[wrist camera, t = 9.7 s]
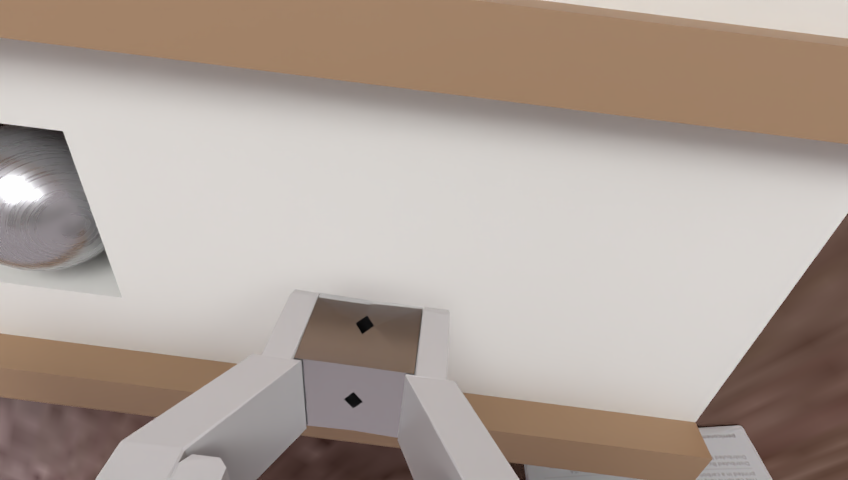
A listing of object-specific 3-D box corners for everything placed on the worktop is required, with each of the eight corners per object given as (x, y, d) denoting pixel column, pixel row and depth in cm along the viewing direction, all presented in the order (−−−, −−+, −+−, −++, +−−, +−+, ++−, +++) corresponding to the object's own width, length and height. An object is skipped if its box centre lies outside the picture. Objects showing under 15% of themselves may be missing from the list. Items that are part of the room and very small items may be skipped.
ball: (131, 131, 12) (69, 92, 14) (-78, 184, 9) (-119, 126, 11) (171, 254, 14) (113, 206, 16) (13, 324, 12) (-33, 257, 13)
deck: (-319, -217, 10) (-893, -325, 6) (899, -66, 10) (1224, -63, 6) (-3, 323, 19) (-135, 434, 15) (630, 404, 19) (677, 539, 15)
